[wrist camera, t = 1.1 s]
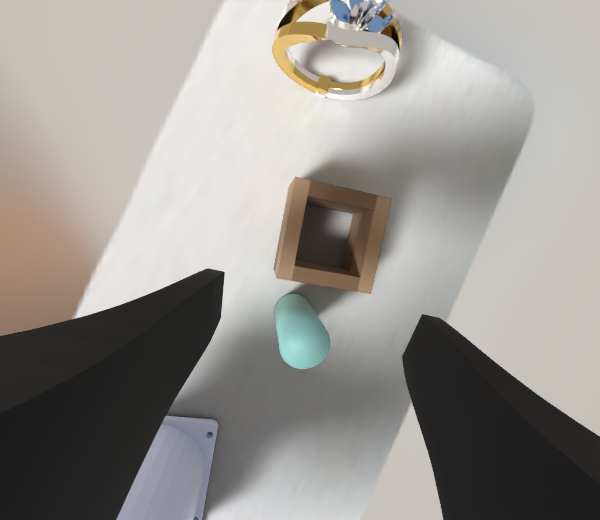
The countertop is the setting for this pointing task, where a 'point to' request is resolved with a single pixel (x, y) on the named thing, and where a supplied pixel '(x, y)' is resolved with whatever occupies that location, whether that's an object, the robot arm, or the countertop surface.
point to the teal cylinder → (300, 332)
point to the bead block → (361, 238)
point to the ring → (340, 43)
